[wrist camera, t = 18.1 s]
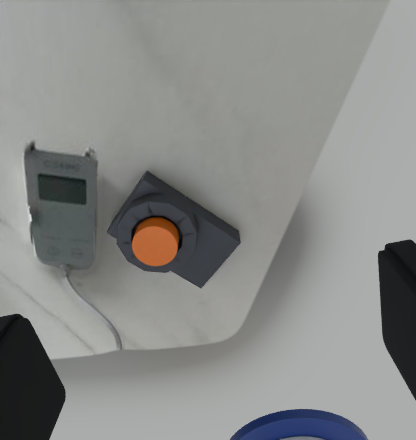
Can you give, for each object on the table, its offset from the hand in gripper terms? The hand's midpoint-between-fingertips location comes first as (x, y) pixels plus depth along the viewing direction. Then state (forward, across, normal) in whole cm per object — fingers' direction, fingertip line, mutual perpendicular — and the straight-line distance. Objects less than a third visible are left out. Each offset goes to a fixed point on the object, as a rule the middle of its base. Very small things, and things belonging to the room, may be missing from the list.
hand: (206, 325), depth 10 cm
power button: (+21, +6, +7) cm, 22 cm away
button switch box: (+24, +5, +8) cm, 26 cm away
